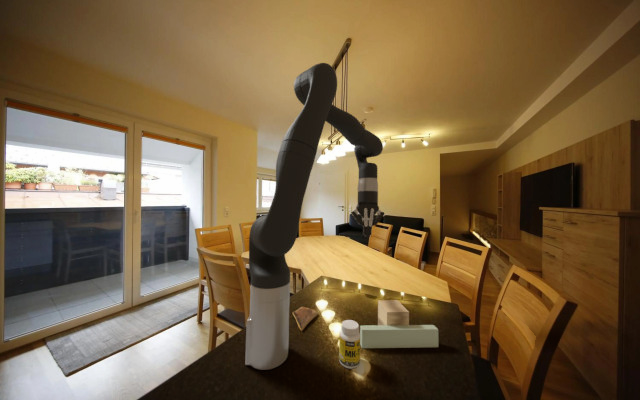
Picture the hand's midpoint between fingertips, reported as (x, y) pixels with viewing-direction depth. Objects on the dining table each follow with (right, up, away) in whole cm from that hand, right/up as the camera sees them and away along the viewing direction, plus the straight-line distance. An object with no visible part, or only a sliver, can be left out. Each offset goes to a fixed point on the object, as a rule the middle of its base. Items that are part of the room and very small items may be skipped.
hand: (367, 236), depth 77 cm
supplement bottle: (-11, -24, -30) cm, 40 cm away
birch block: (+3, -24, -19) cm, 31 cm away
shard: (-22, -25, -12) cm, 35 cm away
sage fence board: (+3, -24, -24) cm, 34 cm away
